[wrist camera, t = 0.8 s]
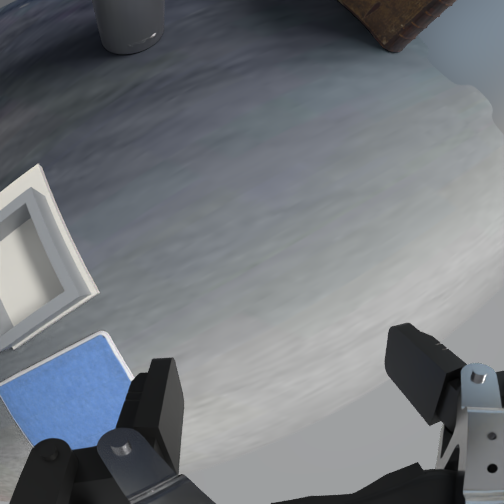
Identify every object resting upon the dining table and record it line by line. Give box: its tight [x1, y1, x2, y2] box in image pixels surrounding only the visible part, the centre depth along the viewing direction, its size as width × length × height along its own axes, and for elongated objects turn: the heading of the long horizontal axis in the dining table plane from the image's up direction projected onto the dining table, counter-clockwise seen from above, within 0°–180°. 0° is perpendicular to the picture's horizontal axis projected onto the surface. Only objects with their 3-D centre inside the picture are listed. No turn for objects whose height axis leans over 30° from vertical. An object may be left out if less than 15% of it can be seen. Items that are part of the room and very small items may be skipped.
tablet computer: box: [0, 331, 134, 450], centre depth 29 cm, size 19×13×1 cm, turn 118°
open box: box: [0, 164, 100, 351], centre depth 27 cm, size 17×14×5 cm
